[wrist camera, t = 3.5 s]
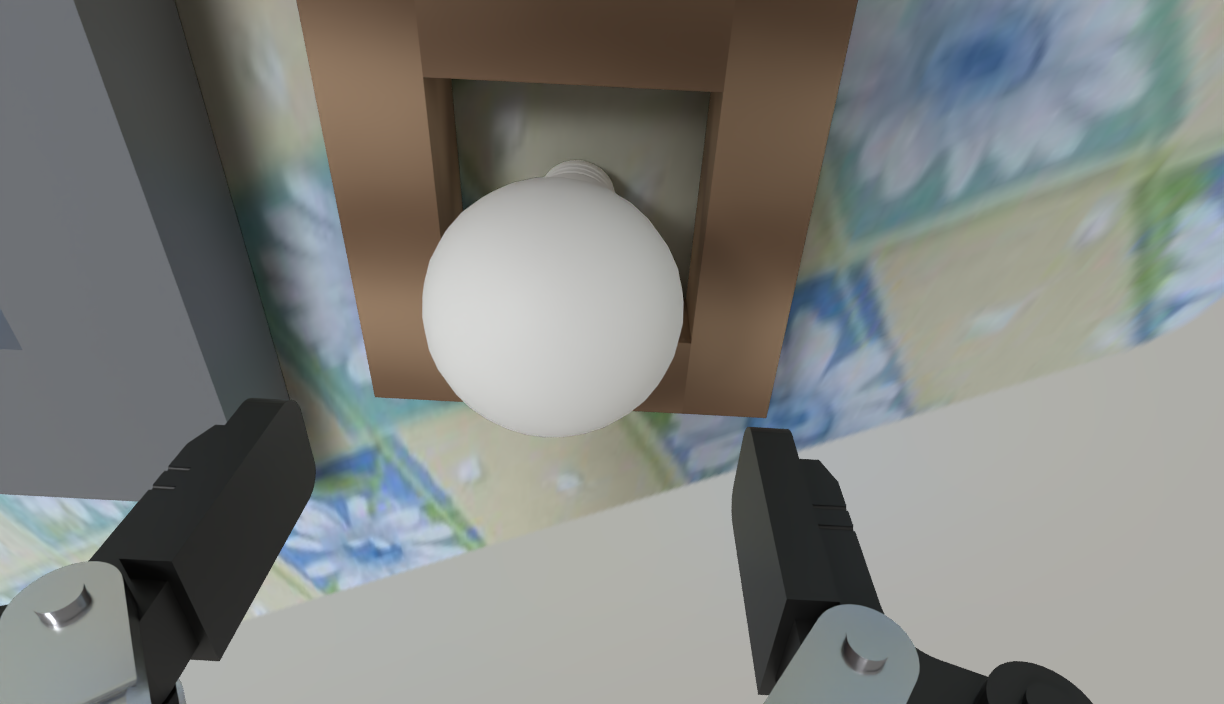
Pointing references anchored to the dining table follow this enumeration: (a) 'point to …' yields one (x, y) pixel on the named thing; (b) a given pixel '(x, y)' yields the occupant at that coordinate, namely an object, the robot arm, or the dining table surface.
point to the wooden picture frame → (594, 56)
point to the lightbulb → (553, 304)
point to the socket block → (114, 254)
